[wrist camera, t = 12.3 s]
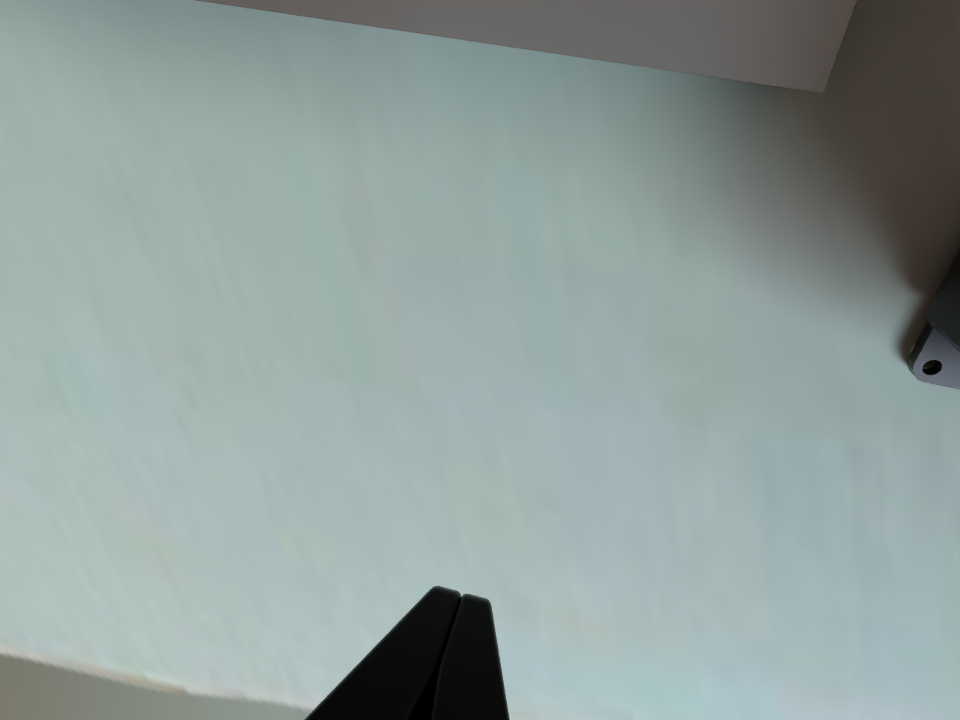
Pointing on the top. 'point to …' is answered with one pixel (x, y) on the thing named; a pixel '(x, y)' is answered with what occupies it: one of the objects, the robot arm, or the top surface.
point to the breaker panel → (624, 31)
